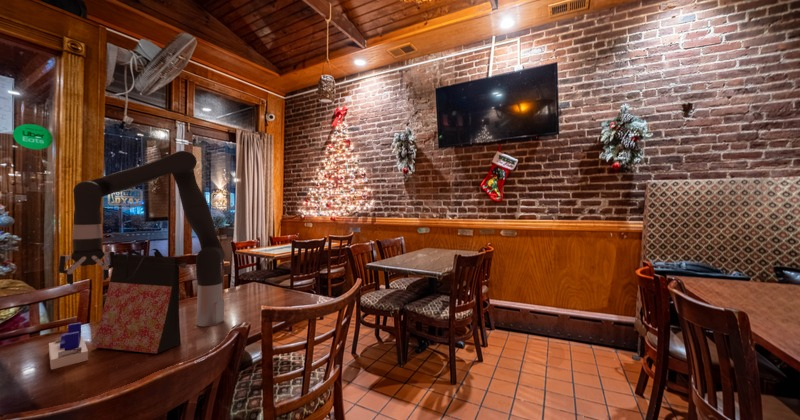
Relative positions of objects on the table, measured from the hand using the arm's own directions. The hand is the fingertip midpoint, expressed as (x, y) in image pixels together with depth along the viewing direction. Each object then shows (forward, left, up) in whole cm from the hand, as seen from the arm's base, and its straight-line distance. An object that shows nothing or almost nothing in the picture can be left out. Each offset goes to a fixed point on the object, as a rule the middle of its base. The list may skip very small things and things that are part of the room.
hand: (88, 282), depth 111 cm
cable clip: (-2, +8, -20) cm, 22 cm away
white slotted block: (-2, +8, -23) cm, 24 cm away
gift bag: (-20, +1, -22) cm, 30 cm away
